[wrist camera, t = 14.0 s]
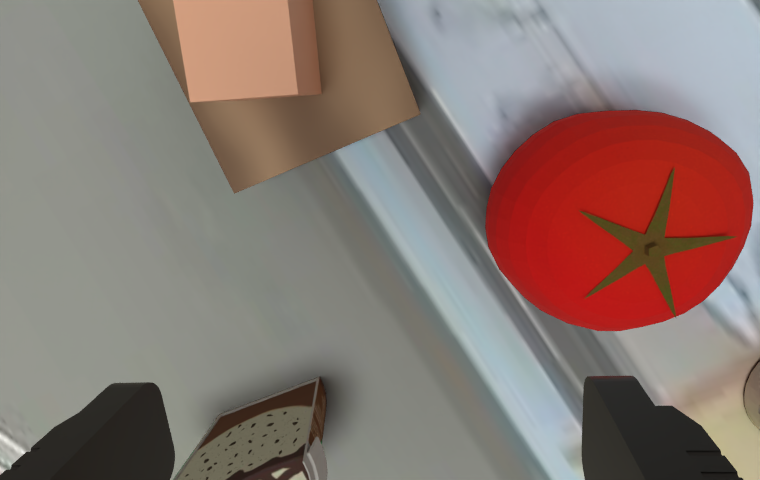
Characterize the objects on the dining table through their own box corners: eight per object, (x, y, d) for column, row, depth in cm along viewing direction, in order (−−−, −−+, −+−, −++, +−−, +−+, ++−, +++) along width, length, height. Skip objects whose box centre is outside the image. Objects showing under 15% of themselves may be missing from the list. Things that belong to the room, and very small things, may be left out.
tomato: (480, 296, 37) (504, 370, 27) (472, 117, 34) (498, 128, 24) (683, 283, 36) (787, 357, 26) (698, 96, 32) (825, 98, 22)
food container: (239, 477, 43) (189, 587, 34) (204, 420, 42) (141, 517, 32) (369, 432, 41) (355, 535, 31) (336, 370, 40) (311, 458, 30)
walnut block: (348, -75, 31) (333, -112, 25) (419, 110, 34) (420, 114, 28) (182, 9, 33) (133, -8, 27) (262, 177, 36) (234, 193, 30)
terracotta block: (312, -3, 27) (284, -30, 21) (321, 94, 28) (297, 94, 22) (221, 5, 27) (169, -19, 21) (235, 100, 29) (190, 102, 23)
